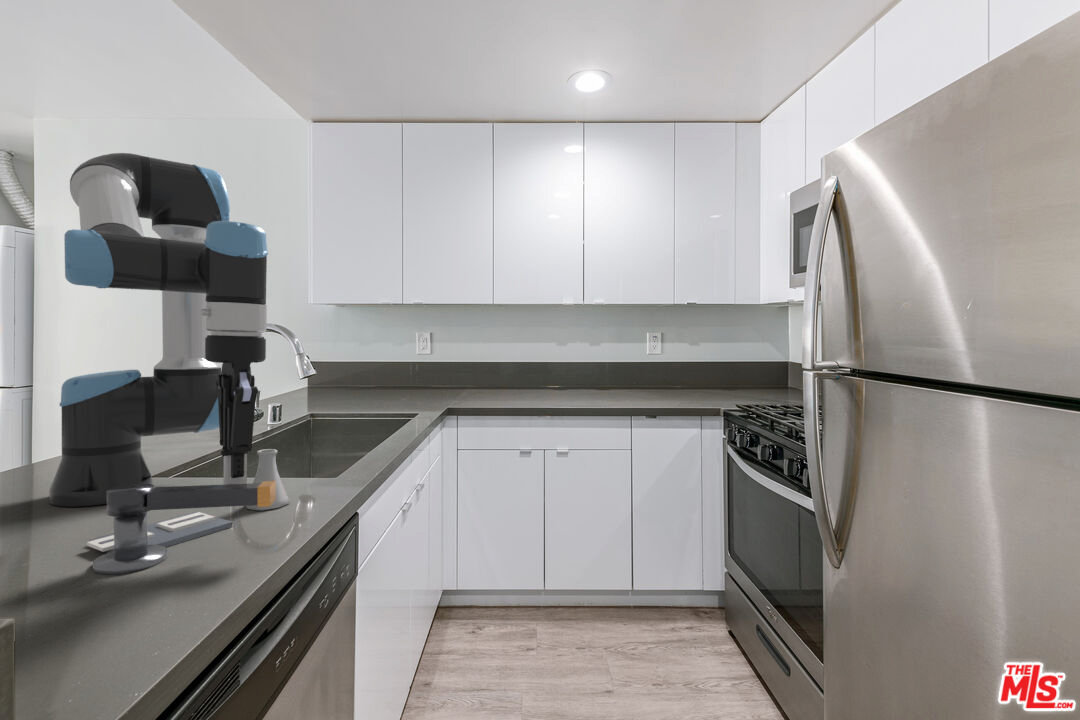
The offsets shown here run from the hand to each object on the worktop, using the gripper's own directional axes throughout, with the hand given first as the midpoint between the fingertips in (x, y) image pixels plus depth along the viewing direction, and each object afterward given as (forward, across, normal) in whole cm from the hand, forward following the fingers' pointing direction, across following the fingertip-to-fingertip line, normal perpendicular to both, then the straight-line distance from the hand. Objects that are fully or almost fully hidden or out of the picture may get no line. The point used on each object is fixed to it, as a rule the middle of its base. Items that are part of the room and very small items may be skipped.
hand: (235, 498), depth 78 cm
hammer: (0, 0, -5) cm, 5 cm away
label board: (+8, -12, -7) cm, 16 cm away
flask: (+8, -18, +9) cm, 22 cm away
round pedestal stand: (+8, -3, -12) cm, 14 cm away
